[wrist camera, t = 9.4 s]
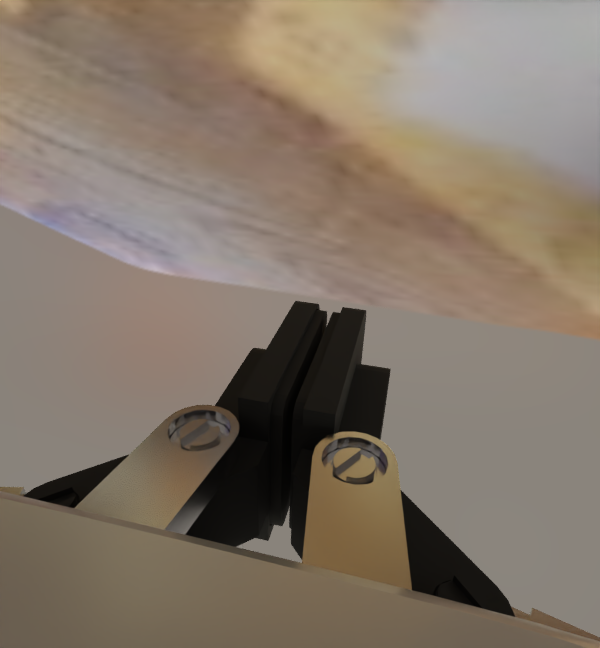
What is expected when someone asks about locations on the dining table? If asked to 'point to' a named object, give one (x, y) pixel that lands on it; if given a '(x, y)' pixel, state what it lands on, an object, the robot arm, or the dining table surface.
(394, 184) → the dining table surface
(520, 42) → the dining table surface
